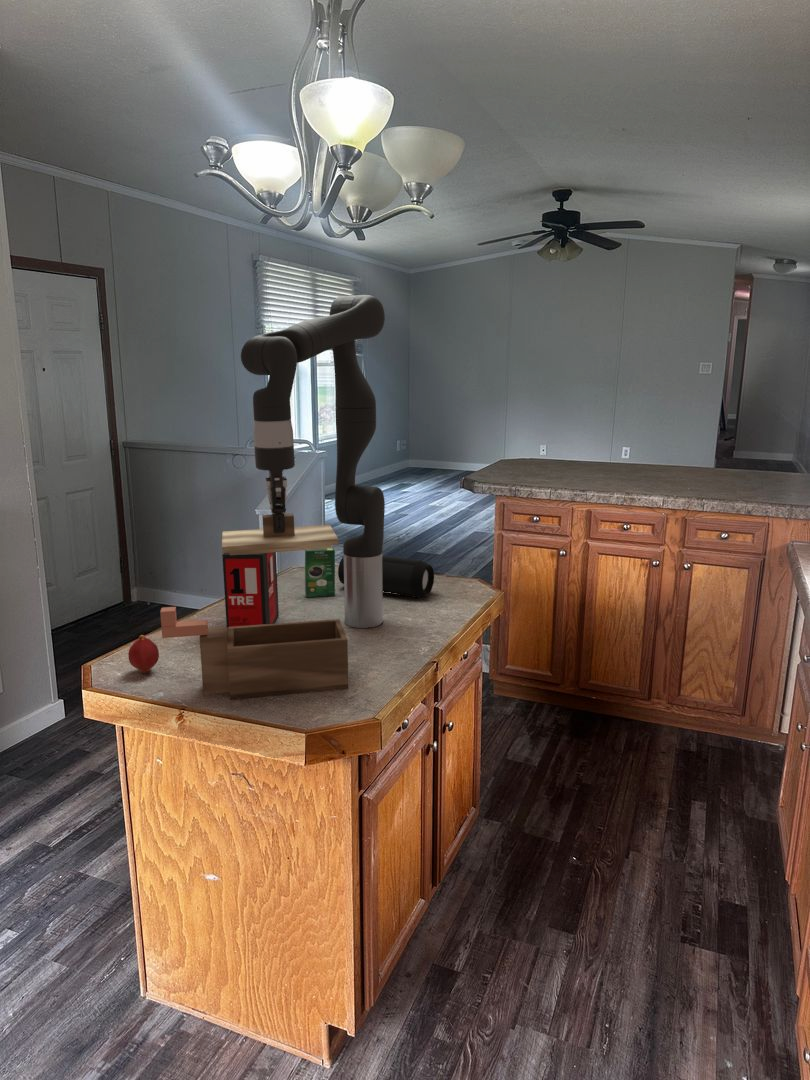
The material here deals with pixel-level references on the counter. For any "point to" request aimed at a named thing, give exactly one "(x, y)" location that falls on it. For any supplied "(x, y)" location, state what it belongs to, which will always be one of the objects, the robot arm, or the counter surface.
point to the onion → (143, 654)
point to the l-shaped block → (180, 625)
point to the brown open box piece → (275, 659)
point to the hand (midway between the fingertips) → (278, 530)
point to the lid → (278, 538)
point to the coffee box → (320, 572)
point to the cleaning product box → (250, 589)
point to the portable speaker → (403, 576)
